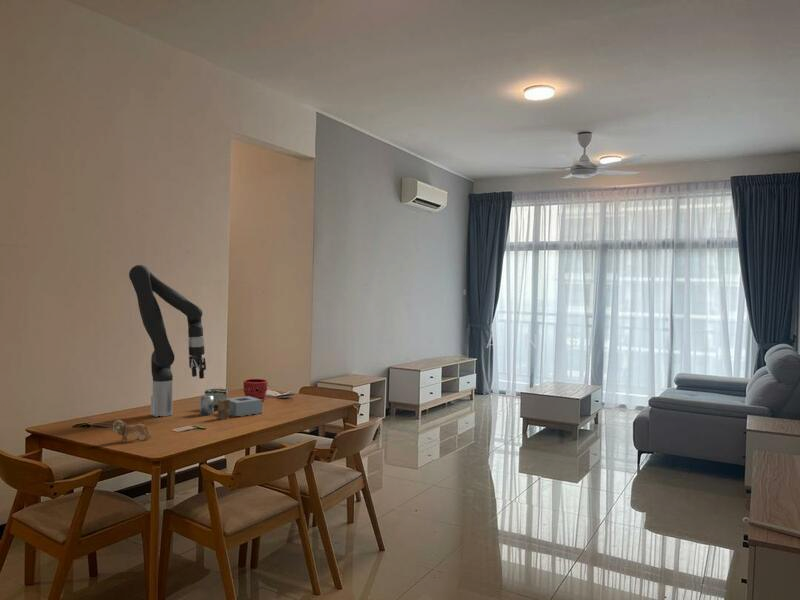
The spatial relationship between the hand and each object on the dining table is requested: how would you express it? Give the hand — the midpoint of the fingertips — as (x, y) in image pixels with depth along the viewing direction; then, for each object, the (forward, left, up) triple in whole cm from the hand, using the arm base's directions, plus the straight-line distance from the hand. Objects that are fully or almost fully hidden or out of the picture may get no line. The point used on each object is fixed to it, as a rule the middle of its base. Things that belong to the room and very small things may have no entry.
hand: (198, 377), depth 303 cm
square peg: (+5, -20, -18) cm, 27 cm away
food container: (+14, +6, -18) cm, 24 cm away
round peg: (+3, -5, -18) cm, 19 cm away
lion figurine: (-44, -38, -18) cm, 61 cm away
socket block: (+18, -14, -18) cm, 29 cm away
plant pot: (+39, +12, -18) cm, 45 cm away
